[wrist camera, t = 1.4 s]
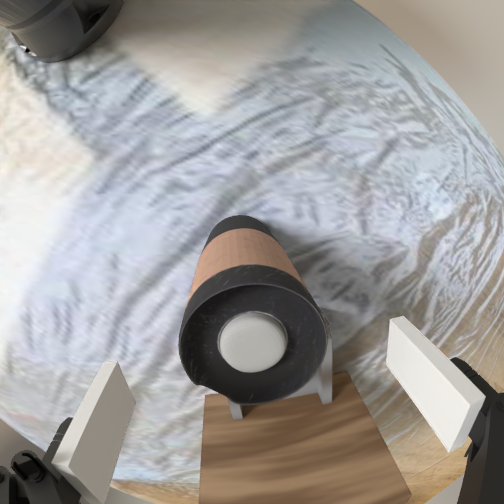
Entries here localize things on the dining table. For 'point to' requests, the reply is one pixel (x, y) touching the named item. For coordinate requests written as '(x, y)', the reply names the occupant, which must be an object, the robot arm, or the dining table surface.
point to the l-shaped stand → (298, 448)
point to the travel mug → (250, 318)
